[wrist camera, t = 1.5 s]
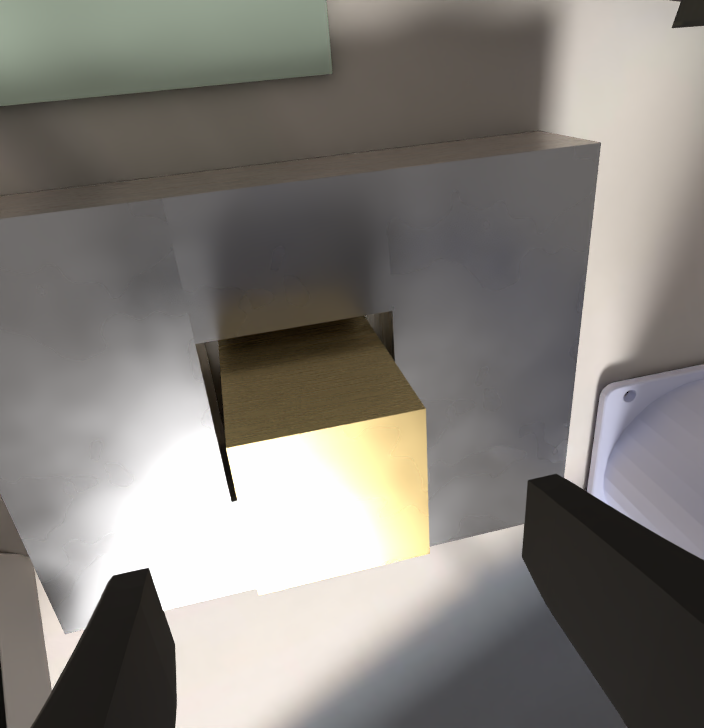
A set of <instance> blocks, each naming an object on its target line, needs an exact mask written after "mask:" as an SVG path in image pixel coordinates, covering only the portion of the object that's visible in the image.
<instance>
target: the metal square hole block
mask: <svg viewBox="0 0 704 728" xmlns="http://www.w3.org/2000/svg"><path fill="white" fill-rule="evenodd" d="M600 146H601V143H600V142H595V141H590V140H585V139H580V138H574V137H569V136H564V135H559V134H554V133H548V132H543V131H533V132H524V133H516V134H508V135H500V136H491V137H483V138H475V139H467V140H458V141H450V142H442V143H434V144H425V145H417V146H409V147H401V148H392V149H384V150H376V151H368V152H359V153H351V154H343V155H335V156H326V157H318V158H310V159H301V160H293V161H285V162H277V163H268V164H260V165H252V166H244V167H235V168H227V169H219V170H211V171H202V172H194V173H186V174H178V175H169V176H161V177H153V178H145V179H136V180H128V181H120V182H112V183H103V184H95V185H87V186H78V187H70V188H62V189H54V190H45V191H37V192H29V193H21V194H12V195H4V196H0V495H1V497H2V499H3V501H4V503H5V505H6V508H7V510H8V512H9V514H10V516H11V518H12V521H13V523H14V525H15V527H16V529H17V531H18V533H19V536H20V538H21V540H22V542H23V544H24V546H25V549H26V551H27V553H28V555H29V557H30V559H31V562H32V564H33V566H34V568H35V570H36V572H37V575H38V577H39V579H40V581H41V583H42V585H43V588H44V590H45V592H46V594H47V596H48V598H49V601H50V603H51V605H52V607H53V609H54V611H55V614H56V616H57V618H58V620H59V622H60V624H61V626H62V629H63V631H64V633H65V634H68V633H72V632H76V631H80V630H84V629H85V628H86V626H87V624H88V622H89V620H90V618H91V616H92V614H93V612H94V610H95V608H96V606H97V604H98V602H99V600H100V598H101V595H102V593H103V591H104V589H105V587H106V585H107V583H108V581H109V580H110V579H111V577H112V576H113V575H117V574H122V573H126V572H130V571H135V570H139V569H143V568H148V567H149V569H150V572H151V575H152V578H153V581H154V584H155V587H156V590H157V593H158V596H159V599H160V602H161V605H162V608H163V610H167V609H172V608H176V607H180V606H184V605H188V604H192V603H197V602H201V601H205V600H209V599H213V598H217V597H222V596H226V595H230V594H234V593H238V592H242V591H247V590H251V589H255V588H257V585H256V580H255V576H254V571H253V567H252V562H251V558H250V553H249V549H248V544H247V540H246V535H245V531H244V526H243V521H242V517H241V512H240V508H239V503H238V499H237V494H236V490H235V485H234V481H233V476H232V472H231V467H230V463H229V458H228V454H227V449H226V438H225V433H224V429H223V424H222V420H221V415H220V411H219V406H218V402H217V397H216V393H215V388H214V383H213V379H212V374H211V370H210V365H209V361H208V356H207V352H206V347H205V342H210V341H216V340H222V339H228V338H234V337H240V336H246V335H252V334H258V333H264V332H270V331H276V330H282V329H288V328H294V327H299V326H305V325H311V324H317V323H323V322H329V321H335V320H341V319H347V318H353V317H359V316H365V315H367V321H368V322H369V324H370V325H371V327H372V328H373V330H374V331H375V333H376V334H377V336H378V337H379V339H380V340H381V342H382V343H383V345H384V346H385V348H386V349H387V351H388V352H389V354H390V355H391V357H392V358H393V360H394V361H395V363H396V364H397V366H398V367H399V369H400V370H401V372H402V373H403V375H404V376H405V378H406V380H407V381H408V383H409V384H410V386H411V387H412V389H413V390H414V392H415V393H416V395H417V396H418V398H419V399H420V401H421V402H422V404H423V405H424V407H425V408H426V432H427V471H428V509H429V547H430V546H434V545H438V544H442V543H447V542H451V541H455V540H459V539H463V538H467V537H472V536H476V535H480V534H484V533H488V532H492V531H497V530H501V529H505V528H509V527H513V526H517V525H521V524H524V523H525V510H526V497H527V483H528V480H530V479H535V478H539V477H544V476H548V475H552V474H558V475H560V476H561V477H563V478H564V471H565V462H566V453H567V444H568V435H569V426H570V417H571V408H572V399H573V390H574V381H575V372H576V363H577V354H578V345H579V336H580V327H581V318H582V309H583V300H584V291H585V282H586V273H587V264H588V255H589V246H590V237H591V228H592V219H593V210H594V201H595V192H596V183H597V174H598V165H599V156H600Z"/></svg>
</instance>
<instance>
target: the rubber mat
mask: <svg viewBox="0 0 704 728" xmlns="http://www.w3.org/2000/svg"><path fill="white" fill-rule="evenodd" d="M326 74H333V72H332V60H331V48H330V37H329V25H328V14H327V2H326V0H0V106H8V105H18V104H28V103H38V102H49V101H59V100H69V99H79V98H90V97H100V96H110V95H120V94H131V93H141V92H151V91H161V90H172V89H182V88H192V87H203V86H213V85H223V84H233V83H244V82H254V81H264V80H274V79H285V78H295V77H305V76H315V75H326Z"/></svg>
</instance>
